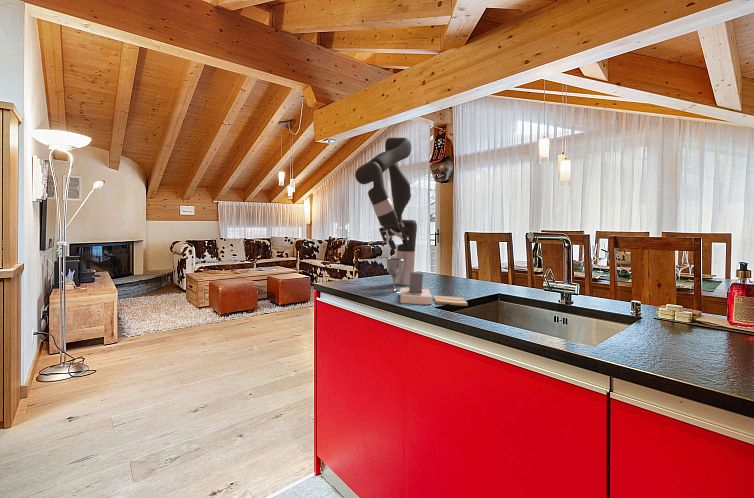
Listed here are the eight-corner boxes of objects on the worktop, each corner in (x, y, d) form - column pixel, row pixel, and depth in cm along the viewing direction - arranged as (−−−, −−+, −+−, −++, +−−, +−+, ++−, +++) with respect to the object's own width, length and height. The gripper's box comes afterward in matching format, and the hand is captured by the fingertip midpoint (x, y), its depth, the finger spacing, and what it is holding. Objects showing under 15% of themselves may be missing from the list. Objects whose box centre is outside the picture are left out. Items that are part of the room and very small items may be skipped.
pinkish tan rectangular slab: (400, 294, 162) (400, 287, 162) (428, 296, 161) (428, 288, 161) (400, 302, 144) (400, 294, 144) (431, 304, 143) (431, 296, 143)
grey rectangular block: (408, 298, 155) (410, 271, 154) (420, 298, 155) (422, 272, 154) (409, 300, 151) (410, 273, 150) (421, 300, 151) (422, 273, 150)
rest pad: (433, 297, 158) (433, 295, 158) (462, 299, 157) (462, 297, 157) (436, 304, 145) (436, 301, 145) (467, 305, 144) (467, 303, 144)
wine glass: (382, 290, 171) (383, 257, 170) (397, 289, 175) (399, 257, 174) (390, 293, 164) (391, 259, 163) (405, 292, 167) (407, 259, 166)
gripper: (402, 205, 144) (418, 242, 147) (380, 211, 156) (395, 246, 159) (389, 212, 140) (406, 251, 143) (368, 218, 151) (383, 253, 154)
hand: (400, 248), depth 151 cm, fingers open, 8 cm apart
